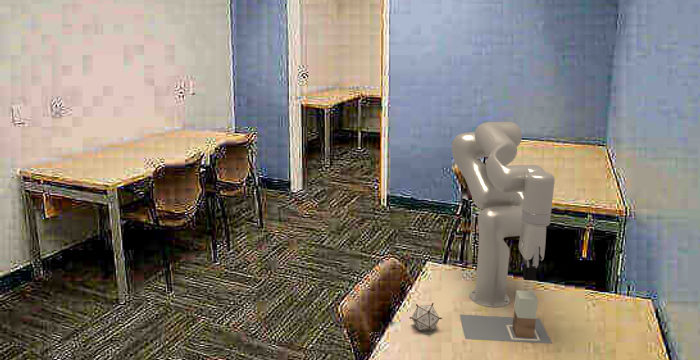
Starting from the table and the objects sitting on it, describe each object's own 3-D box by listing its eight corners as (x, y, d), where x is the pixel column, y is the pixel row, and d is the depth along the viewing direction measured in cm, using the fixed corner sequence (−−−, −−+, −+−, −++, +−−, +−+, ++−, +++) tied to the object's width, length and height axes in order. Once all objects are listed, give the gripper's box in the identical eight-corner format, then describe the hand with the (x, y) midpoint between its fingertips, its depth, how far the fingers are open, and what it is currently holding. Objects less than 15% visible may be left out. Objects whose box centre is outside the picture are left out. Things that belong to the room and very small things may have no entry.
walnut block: (512, 327, 168) (514, 309, 167) (529, 328, 168) (531, 310, 166) (515, 336, 163) (517, 317, 162) (533, 337, 163) (535, 318, 161)
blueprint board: (459, 316, 176) (459, 314, 175) (539, 320, 174) (539, 318, 174) (465, 341, 162) (465, 338, 162) (552, 346, 161) (552, 343, 160)
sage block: (514, 309, 167) (516, 290, 165) (531, 310, 166) (533, 291, 165) (517, 317, 162) (519, 298, 160) (535, 318, 161) (538, 299, 160)
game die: (428, 344, 167) (436, 331, 159) (402, 330, 169) (409, 315, 161) (440, 320, 172) (449, 305, 164) (415, 306, 174) (422, 291, 166)
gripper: (515, 208, 164) (510, 267, 168) (528, 225, 149) (521, 290, 154) (542, 209, 163) (536, 269, 168) (557, 226, 149) (549, 291, 154)
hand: (529, 279), depth 161 cm, fingers closed
